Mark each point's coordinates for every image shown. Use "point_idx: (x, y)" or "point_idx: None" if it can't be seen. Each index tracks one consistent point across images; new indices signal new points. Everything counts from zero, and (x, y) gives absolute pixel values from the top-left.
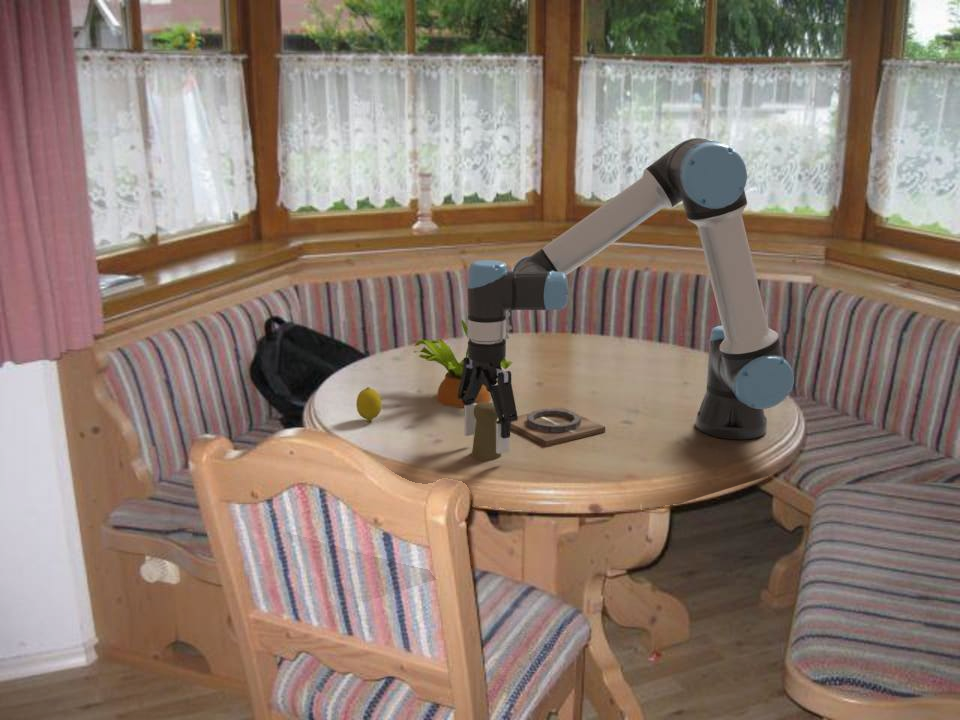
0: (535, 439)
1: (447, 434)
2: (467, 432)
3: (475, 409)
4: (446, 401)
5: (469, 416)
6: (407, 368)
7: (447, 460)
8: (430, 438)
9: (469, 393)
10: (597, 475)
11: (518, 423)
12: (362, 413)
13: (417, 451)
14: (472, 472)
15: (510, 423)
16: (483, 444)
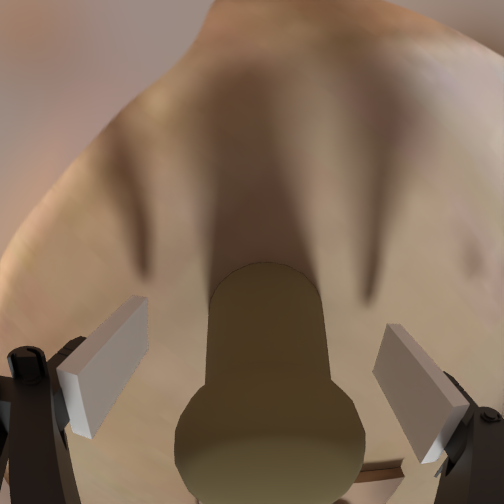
0: None
1: (481, 321)
2: (391, 335)
3: (306, 408)
4: None
5: (417, 386)
6: None
7: (321, 161)
8: (497, 257)
9: (470, 483)
10: None
11: (354, 491)
12: None
13: (453, 141)
14: (159, 162)
15: (373, 480)
16: (230, 303)
